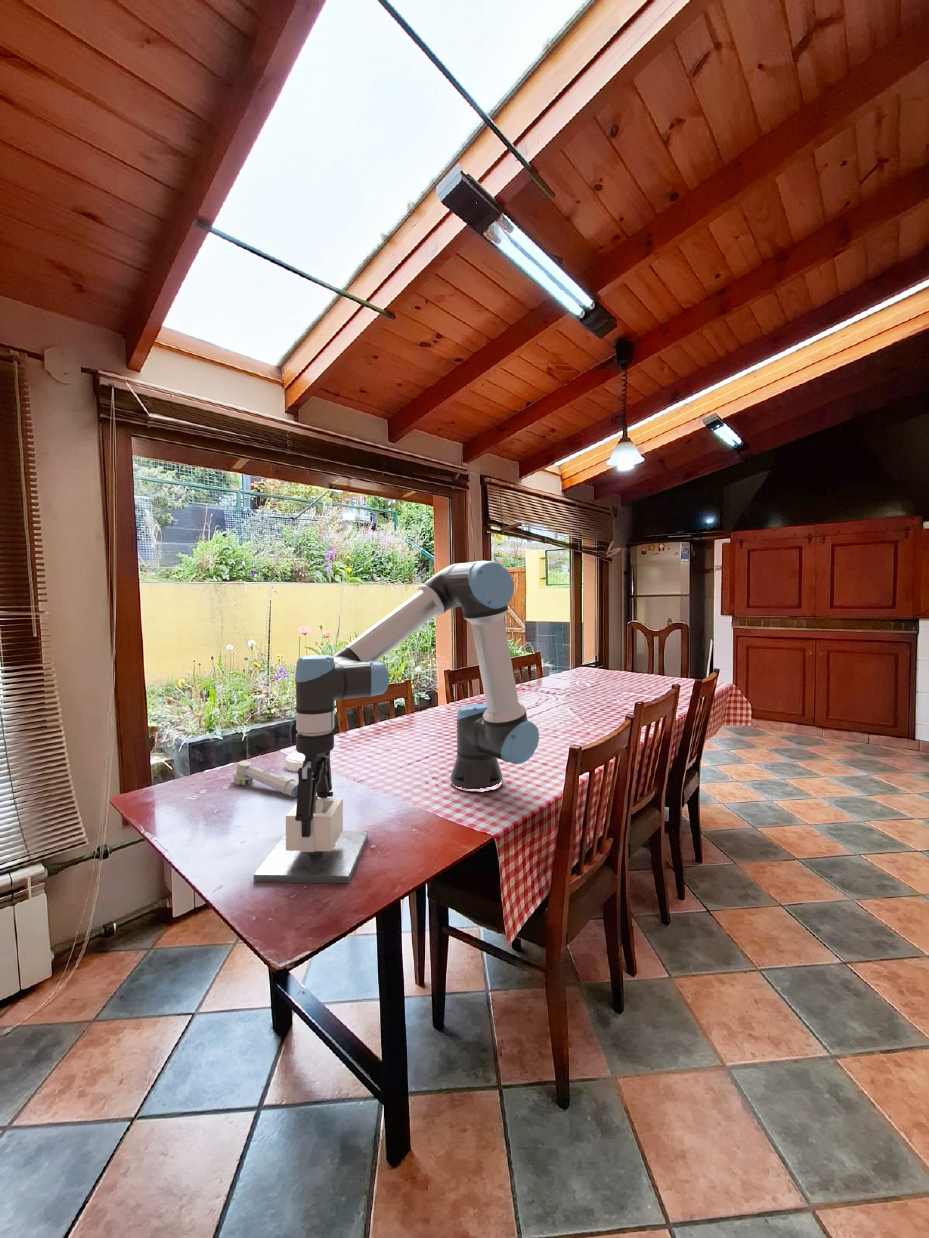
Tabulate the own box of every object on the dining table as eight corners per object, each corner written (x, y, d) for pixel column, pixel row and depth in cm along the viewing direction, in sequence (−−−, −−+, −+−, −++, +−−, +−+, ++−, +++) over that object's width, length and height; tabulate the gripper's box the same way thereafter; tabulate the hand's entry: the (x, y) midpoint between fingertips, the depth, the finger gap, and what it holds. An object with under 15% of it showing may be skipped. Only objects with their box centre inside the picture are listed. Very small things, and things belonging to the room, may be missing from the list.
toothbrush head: (291, 786, 132) (230, 759, 144) (289, 810, 133) (228, 781, 144) (306, 780, 137) (245, 754, 148) (304, 803, 137) (243, 775, 149)
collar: (342, 830, 107) (342, 798, 107) (331, 851, 98) (331, 816, 98) (301, 829, 107) (301, 797, 107) (285, 850, 98) (285, 815, 98)
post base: (367, 837, 112) (367, 780, 112) (348, 883, 94) (348, 815, 94) (288, 836, 112) (287, 780, 112) (253, 882, 94) (253, 814, 94)
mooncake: (332, 764, 162) (332, 753, 162) (301, 775, 152) (301, 763, 152) (308, 757, 169) (308, 747, 168) (277, 767, 159) (277, 756, 158)
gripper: (313, 718, 113) (313, 815, 114) (276, 746, 91) (276, 866, 92) (346, 718, 113) (346, 816, 114) (317, 746, 91) (317, 867, 92)
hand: (315, 838), depth 103 cm, fingers closed on collar, 9 cm apart
